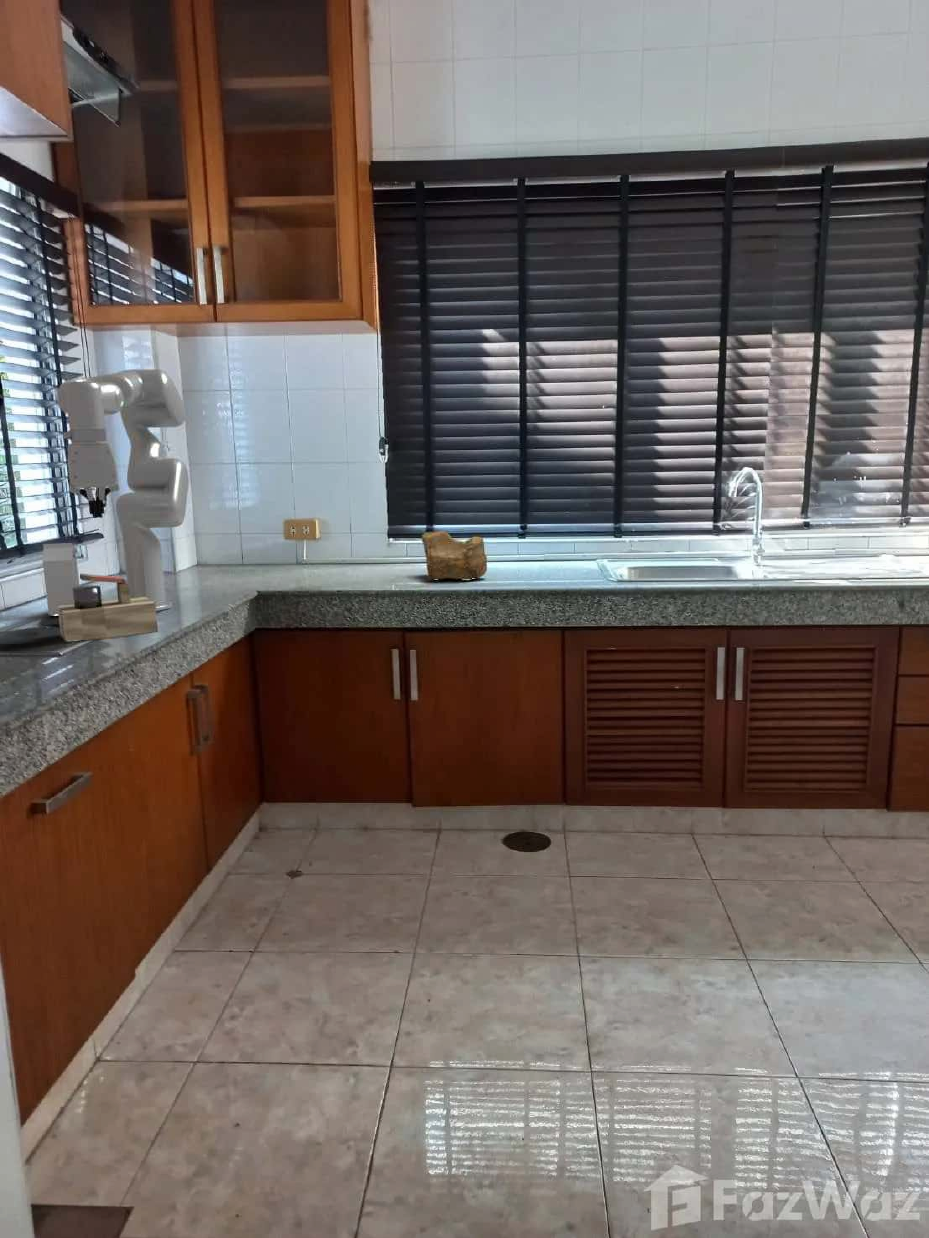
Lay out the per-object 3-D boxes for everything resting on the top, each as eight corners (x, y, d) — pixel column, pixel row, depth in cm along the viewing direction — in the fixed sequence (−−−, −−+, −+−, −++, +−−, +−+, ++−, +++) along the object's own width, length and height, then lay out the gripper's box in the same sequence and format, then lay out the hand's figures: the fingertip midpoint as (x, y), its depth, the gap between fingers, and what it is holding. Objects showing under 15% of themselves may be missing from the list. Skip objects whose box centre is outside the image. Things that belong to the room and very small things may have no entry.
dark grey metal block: (75, 632, 200) (70, 587, 198) (102, 629, 203) (97, 584, 201) (79, 637, 195) (74, 590, 193) (107, 634, 198) (102, 587, 196)
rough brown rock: (403, 583, 273) (401, 537, 269) (430, 571, 287) (429, 528, 282) (465, 590, 262) (464, 543, 257) (490, 578, 275) (490, 533, 271)
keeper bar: (79, 578, 198) (79, 573, 198) (122, 581, 203) (122, 576, 203) (82, 580, 194) (83, 575, 194) (126, 583, 199) (126, 579, 199)
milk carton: (78, 616, 222) (70, 544, 219) (49, 617, 221) (40, 545, 217) (82, 611, 229) (74, 541, 225) (53, 612, 227) (45, 542, 223)
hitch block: (60, 635, 200) (55, 586, 198) (148, 624, 211) (143, 577, 208) (67, 643, 192) (61, 592, 189) (157, 631, 202) (153, 583, 200)
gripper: (55, 438, 186) (65, 521, 190) (126, 436, 194) (134, 516, 198) (50, 437, 192) (60, 518, 196) (119, 436, 200) (127, 513, 204)
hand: (97, 517), depth 197 cm, fingers closed
